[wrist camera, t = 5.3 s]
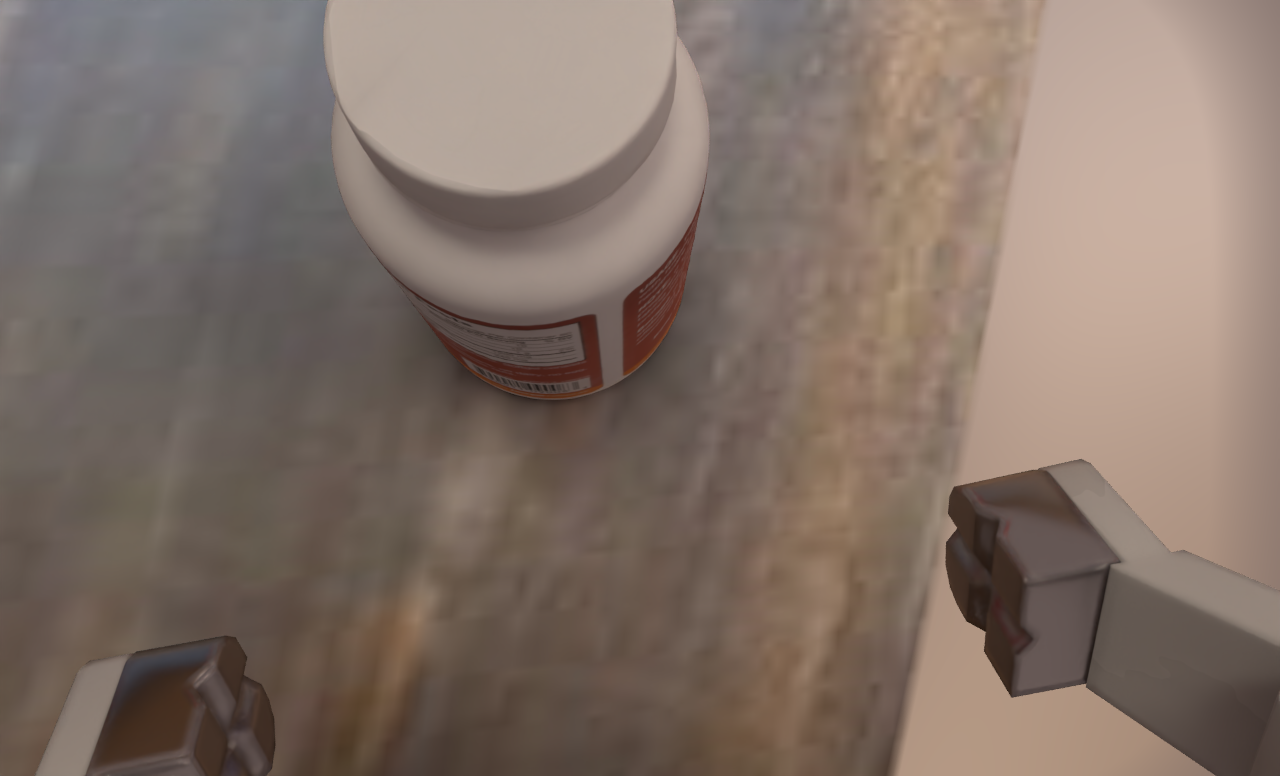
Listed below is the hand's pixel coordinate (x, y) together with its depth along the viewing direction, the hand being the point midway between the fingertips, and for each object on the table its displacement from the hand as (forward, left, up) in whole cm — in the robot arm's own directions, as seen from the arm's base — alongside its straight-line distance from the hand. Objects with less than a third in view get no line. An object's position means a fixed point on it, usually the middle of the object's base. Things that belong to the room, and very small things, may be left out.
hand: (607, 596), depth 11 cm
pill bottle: (+1, +7, -12) cm, 14 cm away
